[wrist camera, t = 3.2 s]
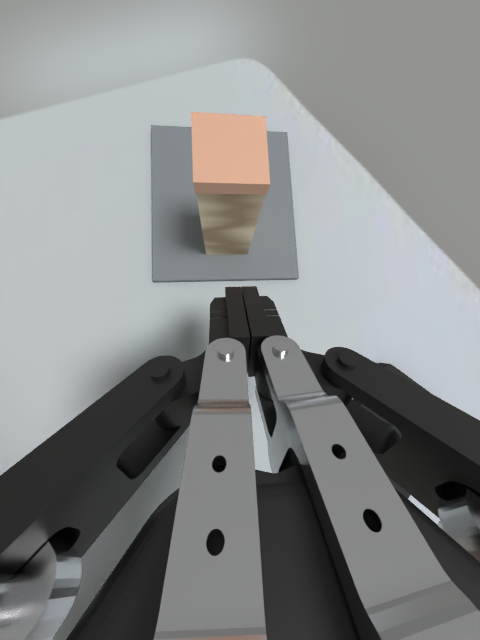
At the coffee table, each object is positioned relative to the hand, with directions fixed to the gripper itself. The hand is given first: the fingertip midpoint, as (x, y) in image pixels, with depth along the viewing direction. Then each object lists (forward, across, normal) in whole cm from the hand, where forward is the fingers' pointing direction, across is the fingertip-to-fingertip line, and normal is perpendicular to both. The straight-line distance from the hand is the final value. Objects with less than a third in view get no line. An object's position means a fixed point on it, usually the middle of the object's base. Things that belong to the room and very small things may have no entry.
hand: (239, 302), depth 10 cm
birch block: (+12, 0, 0) cm, 12 cm away
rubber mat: (+15, 0, -2) cm, 15 cm away
